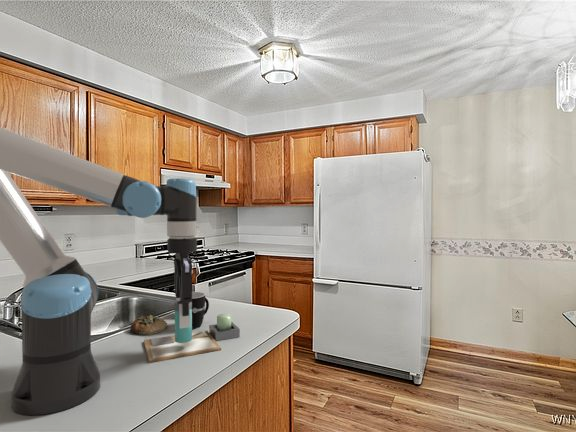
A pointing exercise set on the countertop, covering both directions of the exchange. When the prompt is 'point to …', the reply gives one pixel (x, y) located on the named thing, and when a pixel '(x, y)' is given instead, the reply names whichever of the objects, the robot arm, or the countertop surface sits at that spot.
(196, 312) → the mug
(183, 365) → the countertop surface
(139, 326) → the bread roll
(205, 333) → the tan flat tray
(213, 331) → the button housing
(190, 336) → the teal cylinder
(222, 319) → the button
